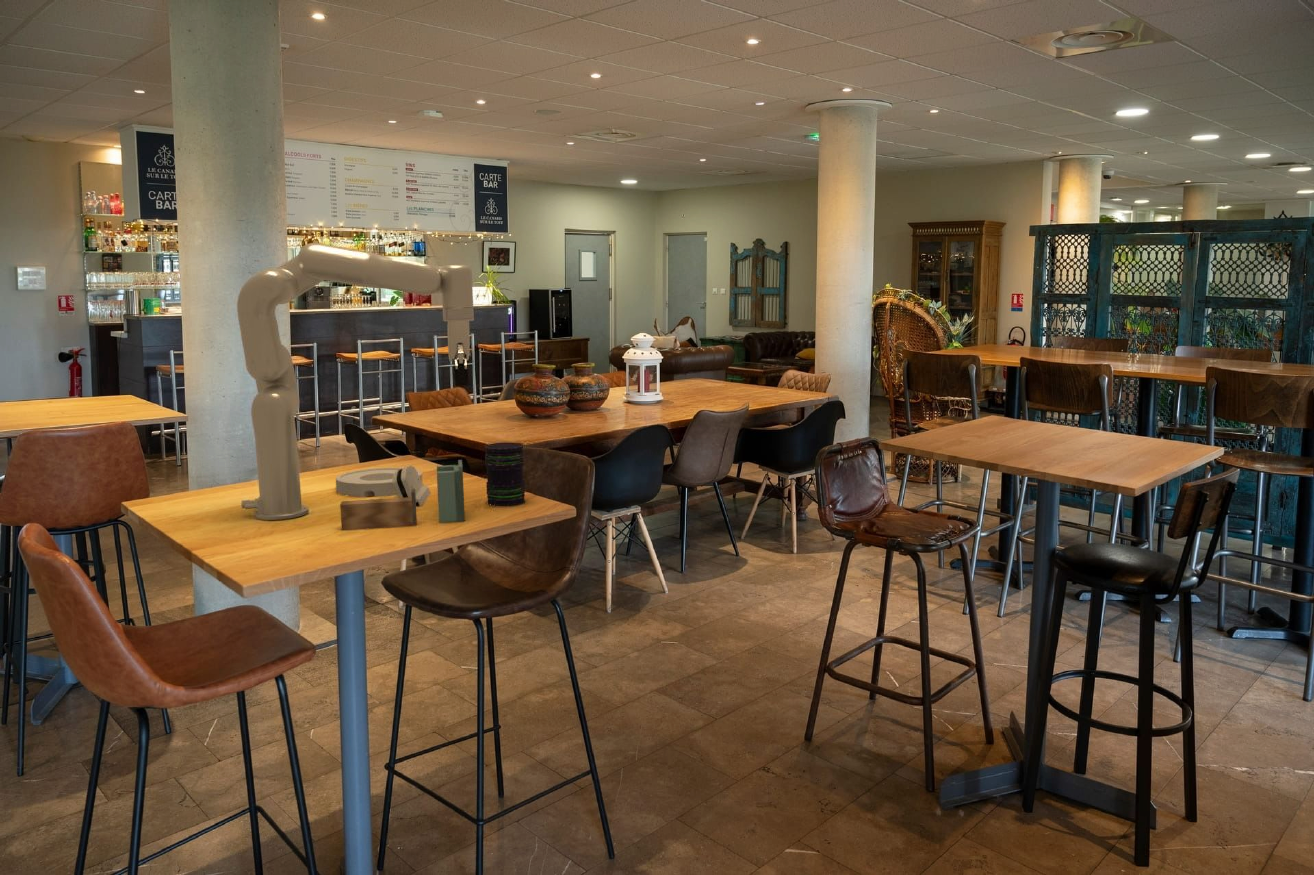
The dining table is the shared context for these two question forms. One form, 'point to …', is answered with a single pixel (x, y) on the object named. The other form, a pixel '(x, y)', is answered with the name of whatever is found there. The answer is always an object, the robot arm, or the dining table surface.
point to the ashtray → (368, 482)
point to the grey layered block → (410, 484)
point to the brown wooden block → (379, 513)
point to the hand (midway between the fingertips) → (461, 383)
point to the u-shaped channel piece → (450, 493)
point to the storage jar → (505, 474)
